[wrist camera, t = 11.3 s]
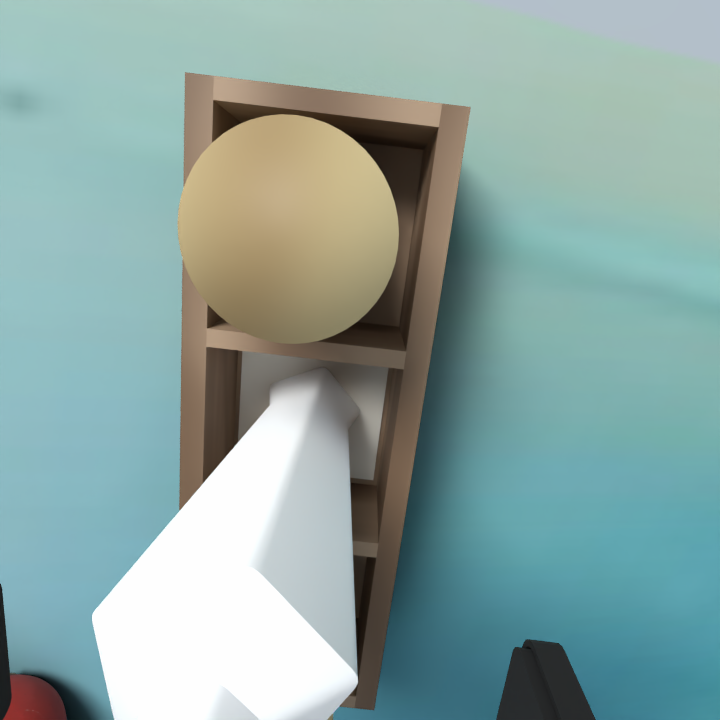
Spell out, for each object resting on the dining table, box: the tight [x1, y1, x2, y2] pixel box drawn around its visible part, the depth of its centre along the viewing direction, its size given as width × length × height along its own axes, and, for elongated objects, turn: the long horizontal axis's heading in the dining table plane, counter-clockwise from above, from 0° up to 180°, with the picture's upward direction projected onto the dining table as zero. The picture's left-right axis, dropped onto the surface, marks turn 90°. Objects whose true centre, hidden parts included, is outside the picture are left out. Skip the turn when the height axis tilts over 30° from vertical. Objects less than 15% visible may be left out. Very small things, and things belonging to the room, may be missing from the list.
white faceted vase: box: [92, 367, 360, 720], centre depth 13 cm, size 5×4×15 cm
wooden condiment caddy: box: [178, 72, 471, 720], centre depth 16 cm, size 8×22×10 cm, turn 173°
